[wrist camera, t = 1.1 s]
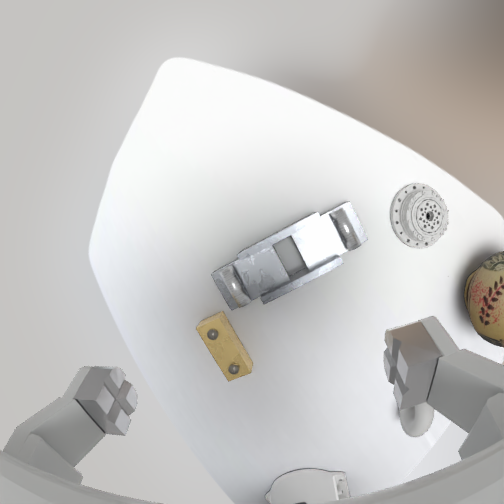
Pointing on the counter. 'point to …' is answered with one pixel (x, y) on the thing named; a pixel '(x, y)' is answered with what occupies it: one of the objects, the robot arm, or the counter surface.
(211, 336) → the gold block with knob
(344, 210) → the linear slide rail
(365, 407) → the counter surface
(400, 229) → the mechanical component
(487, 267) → the ceramic jug
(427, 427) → the donut
